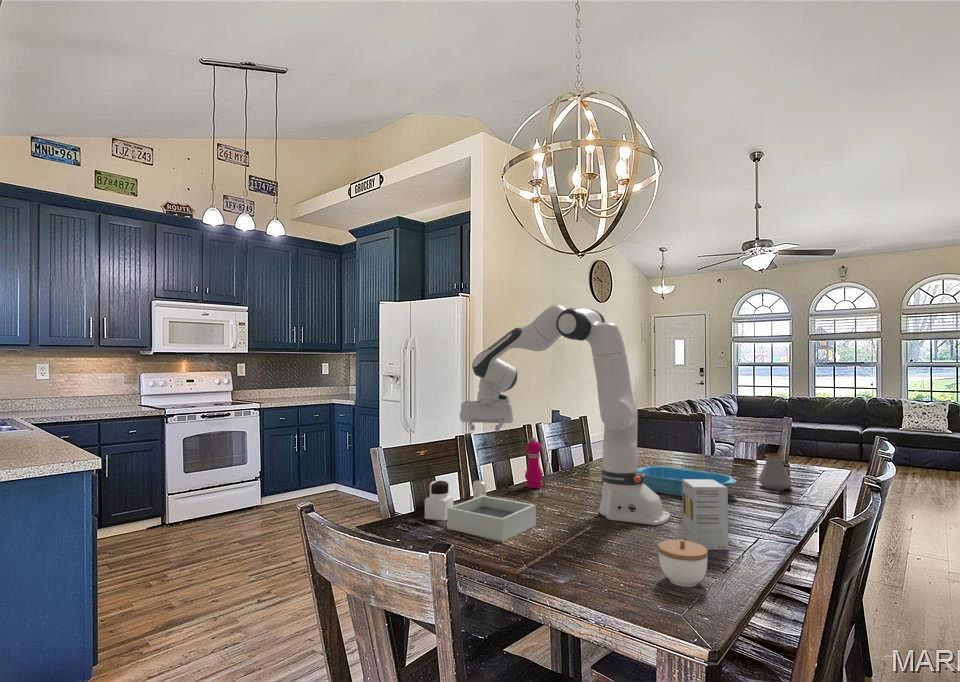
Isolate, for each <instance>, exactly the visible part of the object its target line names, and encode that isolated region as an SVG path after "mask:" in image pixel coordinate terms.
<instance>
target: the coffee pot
mask: <svg viewBox="0 0 960 682" xmlns="http://www.w3.org/2000/svg"><path fill="white" fill-rule="evenodd" d="M783 447H784V445H779V448H778V451H777V454H776V453H765V454H764V457H765V458H766V461H765V463H764V466H763V468H762V470H761V472H760V474H759V476H758V479H757V480H758V482H759V484H760V485H762V486H763V488H764V487H765V489H767V488H768V490H772V489H774V490H773V491H785V490H786V489H788V488H789V487H790V486H791V484H792V480H791V478H790V476H789V473H788V472H787V470H786V468H785V466H784V464H783V462H782V460H783V459H784V458H785V456H784V455H782V453H783V451H784V450H785V448H783ZM784 489H785V490H784Z"/></svg>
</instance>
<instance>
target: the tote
mask: <svg viewBox="0 0 960 682" xmlns="http://www.w3.org/2000/svg"><path fill="white" fill-rule="evenodd" d="M481 507H489V508H494V509H499V510H504V511H509V512H514V513H512V514H510V515H508V516H506V517H503V518H499V517H494V516H489V515H484V514H480V513H475V512H471V511H473V510H476V509H479V508H481ZM446 525H447V526H446V528H447V529H448V530H451V531H456V532H459V533H460V532H461V533H464V534H468V535H469V534H470V535H473V536H477V537H480V538H481V537H482V538H486V539H489V540H495V541H498V542H506V541H508V540H510V539H511V538H514V537H516V536H518V535H519V534H521V533H523V532H525V531H527V530H529V529H531V528H533V527H536V526H537V504H532V503H526V502H520V501H516V500H511V499H506V498H505V499H504V498H498V497H494V496H493V497H492V496H487V495H486V496H483V495H482V496H480V497H477V498H474V499H473V498H472V499H469V500H466V501H462V502H461V503H457V504H455V505H454V504H453V506H452V507H449V508H447V520H446Z"/></svg>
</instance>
